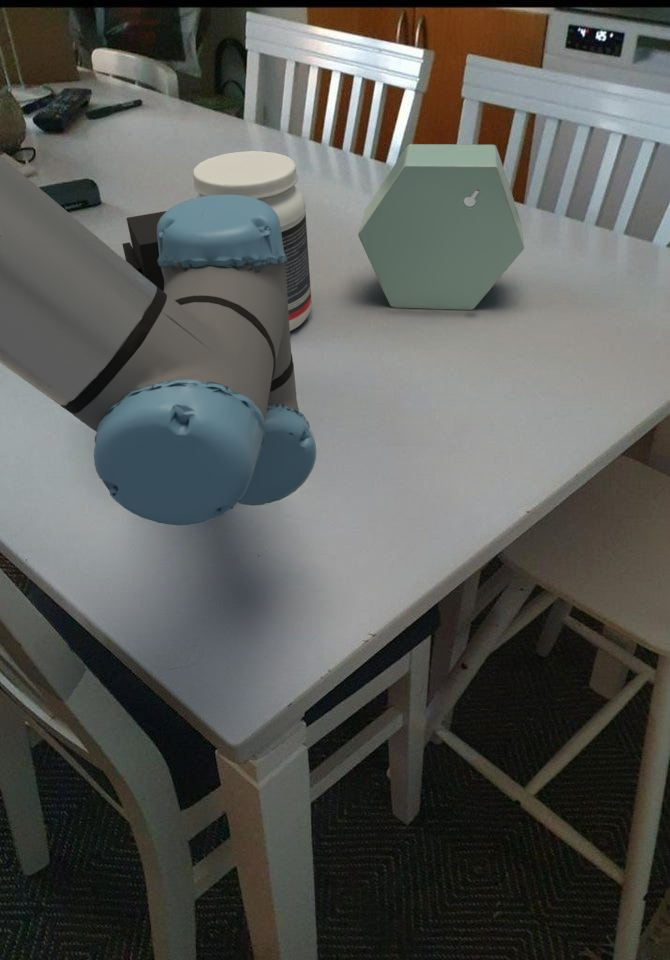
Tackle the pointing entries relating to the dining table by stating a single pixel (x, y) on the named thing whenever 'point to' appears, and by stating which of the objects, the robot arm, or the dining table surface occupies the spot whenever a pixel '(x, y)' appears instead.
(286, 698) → the dining table surface
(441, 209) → the green hexagonal block
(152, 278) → the tall dark brick
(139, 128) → the dining table surface
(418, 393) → the dining table surface
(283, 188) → the supplement tub
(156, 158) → the dining table surface
